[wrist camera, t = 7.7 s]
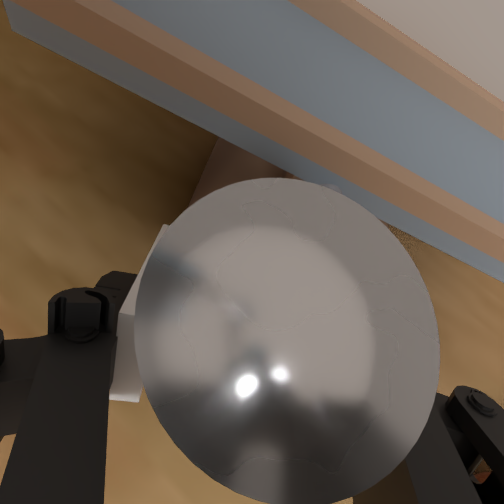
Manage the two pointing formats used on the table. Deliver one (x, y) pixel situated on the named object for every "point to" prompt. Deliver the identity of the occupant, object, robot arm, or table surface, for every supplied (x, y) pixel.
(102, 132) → the table surface
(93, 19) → the rectangular tray
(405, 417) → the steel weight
